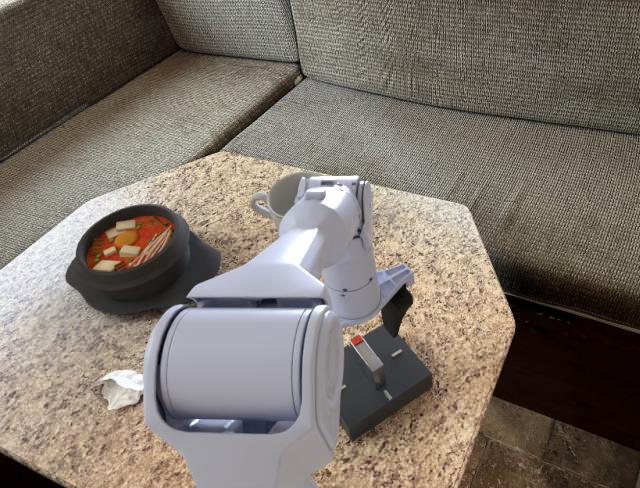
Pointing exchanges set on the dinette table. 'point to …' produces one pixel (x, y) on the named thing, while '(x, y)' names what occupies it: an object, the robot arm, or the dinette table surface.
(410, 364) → the block
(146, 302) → the casserole
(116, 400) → the tissue
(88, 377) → the dinette table surface
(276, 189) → the teacup
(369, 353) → the tap handle
